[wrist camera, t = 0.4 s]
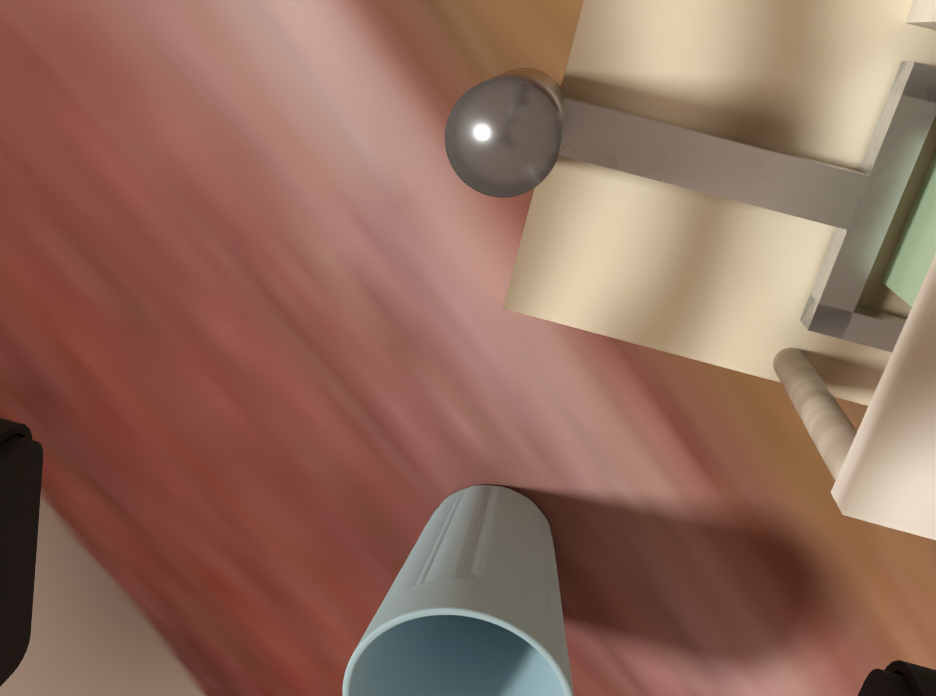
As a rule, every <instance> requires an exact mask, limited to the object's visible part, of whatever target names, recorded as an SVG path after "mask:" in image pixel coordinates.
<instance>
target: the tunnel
mask: <svg viewBox="0 0 936 696" xmlns="http://www.w3.org/2000/svg"><path fill="white" fill-rule="evenodd" d="M902 61H911V62H918V63H922V64H926V65H930V66H934V67H936V0H584V3H583V7H582V10H581V14H580V18H579V22H578V26H577V29H576V33H575V37H574V41H573V45H572V48H571V52H570V56H569V60H568V64H567V67H566V71H565V75H564V79H563V83H562V86H561V89H562V91H563V93H564V95H565V96H567V97H571V98H575V99H578V100H582V101H586V102H590V103H594V104H598V105H602V106H606V107H610V108H614V109H618V110H621V111H625V112H629V113H633V114H637V115H641V116H645V117H649V118H653V119H657V120H661V121H664V122H668V123H672V124H676V125H680V126H684V127H688V128H692V129H696V130H700V131H704V132H707V133H711V134H715V135H719V136H723V137H727V138H731V139H735V140H739V141H743V142H747V143H751V144H754V145H758V146H762V147H766V148H770V149H774V150H778V151H782V152H786V153H790V154H794V155H797V156H801V157H805V158H809V159H813V160H817V161H821V162H825V163H829V164H833V165H837V166H840V167H844V168H848V169H852V170H856V171H859V169H860V166H861V163H862V161H863V158H864V156H865V153H866V151H867V148H868V146H869V143H870V141H871V138H872V136H873V133H874V130H875V128H876V125H877V123H878V120H879V118H880V115H881V113H882V110H883V108H884V105H885V102H886V100H887V97H888V95H889V92H890V90H891V87H892V85H893V82H894V80H895V77H896V75H897V72H898V69H899V67H900V64H901V62H902ZM935 153H936V115H935V117H934V120H933V122H932V124H931V127H930V129H929V132H928V134H927V136H926V139H925V141H924V144H923V146H922V149H921V151H920V153H919V156H918V158H917V161H916V163H915V165H914V168H913V170H912V173H911V175H910V177H909V180H908V182H907V185H906V187H905V189H904V192H903V194H902V197H901V199H900V202H899V204H898V206H897V209H896V211H895V214H894V216H893V218H892V221H891V223H890V226H889V228H888V230H887V233H886V235H885V238H884V240H883V242H882V245H881V247H880V250H879V252H878V254H877V257H876V259H875V262H874V264H873V267H872V269H871V271H870V274H869V276H868V279H867V281H866V283H865V286H864V288H863V291H862V293H861V295H860V298H859V300H858V303H857V305H856V306H859V307H863V308H867V309H871V310H874V311H878V312H882V313H886V314H890V315H894V316H897V317H901V318H905V319H907V320H906V322H905V325H904V327H903V329H902V331H901V334H900V336H899V338H898V340H897V343H896V345H895V347H894V350H893V352H888V351H884V350H880V349H876V348H873V347H869V346H865V345H861V344H858V343H854V342H850V341H846V340H842V339H839V338H835V337H831V336H827V335H823V334H820V333H816V332H812V331H808V330H807V329H806V327H805V326H804V325H803V323H802V322H801V321H800V319H801V316H802V313H803V311H804V308H805V306H806V303H807V301H808V298H809V296H810V293H811V291H812V288H813V285H814V283H815V280H816V278H817V275H818V273H819V270H820V268H821V265H822V263H823V260H824V258H825V255H826V252H827V250H828V247H829V245H830V242H831V240H832V237H833V235H834V232H835V230H836V227H834V226H830V225H827V224H823V223H819V222H815V221H811V220H807V219H803V218H799V217H796V216H792V215H788V214H784V213H780V212H776V211H772V210H769V209H765V208H761V207H757V206H753V205H749V204H745V203H741V202H738V201H734V200H730V199H726V198H722V197H718V196H714V195H711V194H707V193H703V192H699V191H695V190H691V189H687V188H683V187H680V186H676V185H672V184H668V183H664V182H660V181H656V180H653V179H649V178H645V177H641V176H637V175H633V174H629V173H625V172H622V171H618V170H614V169H610V168H606V167H602V166H598V165H595V164H591V163H587V162H583V161H579V160H575V159H571V158H567V157H564V156H560V155H558V158H557V161H556V163H555V165H554V167H553V169H552V170H551V172H550V173H549V175H548V176H547V177H546V178H545V179H544V181H542V182H541V183H540V184H539V185H538V186H536V187H535V189H534V193H533V197H532V200H531V204H530V208H529V212H528V216H527V219H526V223H525V227H524V231H523V235H522V238H521V242H520V246H519V250H518V254H517V257H516V261H515V265H514V269H513V272H512V276H511V280H510V284H509V288H508V291H507V295H506V299H505V303H504V307H503V309H507V310H511V311H515V312H518V313H522V314H526V315H529V316H533V317H537V318H541V319H544V320H548V321H552V322H556V323H559V324H563V325H567V326H571V327H574V328H578V329H582V330H586V331H589V332H593V333H597V334H601V335H604V336H608V337H612V338H616V339H619V340H623V341H627V342H631V343H634V344H638V345H642V346H646V347H649V348H653V349H657V350H661V351H664V352H668V353H672V354H676V355H679V356H683V357H687V358H691V359H694V360H698V361H702V362H706V363H709V364H713V365H717V366H721V367H724V368H728V369H732V370H736V371H739V372H743V373H747V374H751V375H754V376H758V377H762V378H766V379H769V380H773V381H777V382H781V383H782V385H783V387H784V389H785V391H786V393H787V394H788V396H789V398H790V400H791V402H792V403H793V405H794V407H795V409H796V411H797V412H798V414H799V416H800V418H801V420H802V422H803V423H804V425H805V427H806V429H807V431H808V432H809V434H810V436H811V438H812V440H813V441H814V443H815V445H816V447H817V449H818V450H819V452H820V454H821V456H822V458H823V460H824V461H825V463H826V465H827V467H828V469H829V470H830V472H831V474H832V476H833V478H834V479H835V484H834V486H833V488H832V491H831V494H832V496H833V498H834V500H835V501H836V503H837V505H838V507H839V509H840V511H841V513H842V515H845V516H849V517H853V518H856V519H860V520H864V521H867V522H871V523H875V524H878V525H882V526H886V527H889V528H893V529H897V530H900V531H904V532H908V533H911V534H915V535H919V536H922V537H926V538H930V539H933V540H936V254H935V256H934V259H933V261H932V263H931V265H930V268H929V270H928V272H927V274H926V277H925V279H924V281H923V284H922V286H921V288H920V290H919V293H918V295H917V297H916V299H915V302H914V304H913V306H912V307H911V306H910V305H909V304H907V303H906V302H905V301H904V300H903V299H901V298H900V297H899V296H898V295H897V294H895V293H894V292H893V291H892V290H891V289H890V288H888V287H887V286H886V285H885V284H884V283H882V282H881V281H882V279H883V277H884V274H885V272H886V270H887V267H888V265H889V262H890V260H891V258H892V255H893V253H894V251H895V248H896V246H897V244H898V241H899V239H900V236H901V234H902V232H903V229H904V227H905V225H906V222H907V220H908V217H909V215H910V213H911V210H912V208H913V206H914V203H915V201H916V198H917V196H918V194H919V191H920V189H921V187H922V184H923V182H924V179H925V177H926V175H927V172H928V170H929V168H930V165H931V163H932V161H933V158H934V156H935ZM834 397H837V398H841V399H844V400H848V401H852V402H856V403H859V404H863V405H867V406H868V409H867V411H866V413H865V415H864V418H863V420H862V422H861V425H860V427H859V429H858V431H856V429H855V428H854V426H853V425H852V423H851V422H850V421H849V419H848V418H847V416H846V415H845V413H844V412H843V410H842V409H841V407H840V406H839V404H838V403H837V401H836V400H835V398H834Z"/></svg>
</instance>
